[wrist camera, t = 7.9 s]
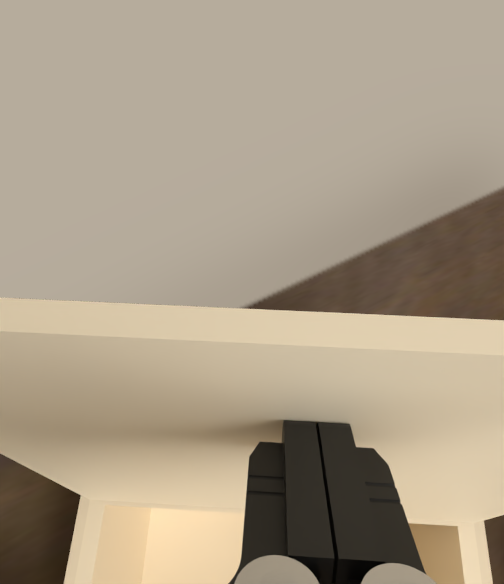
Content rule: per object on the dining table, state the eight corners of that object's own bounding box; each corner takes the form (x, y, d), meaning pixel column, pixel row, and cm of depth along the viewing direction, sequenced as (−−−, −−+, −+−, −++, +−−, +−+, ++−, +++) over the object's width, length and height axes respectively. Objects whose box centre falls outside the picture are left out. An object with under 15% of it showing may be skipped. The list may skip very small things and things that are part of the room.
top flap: (-259, 318, 7) (-231, 282, 8) (89, 499, 22) (92, 484, 23) (989, 378, 7) (951, 335, 7) (475, 522, 22) (472, 506, 22)
